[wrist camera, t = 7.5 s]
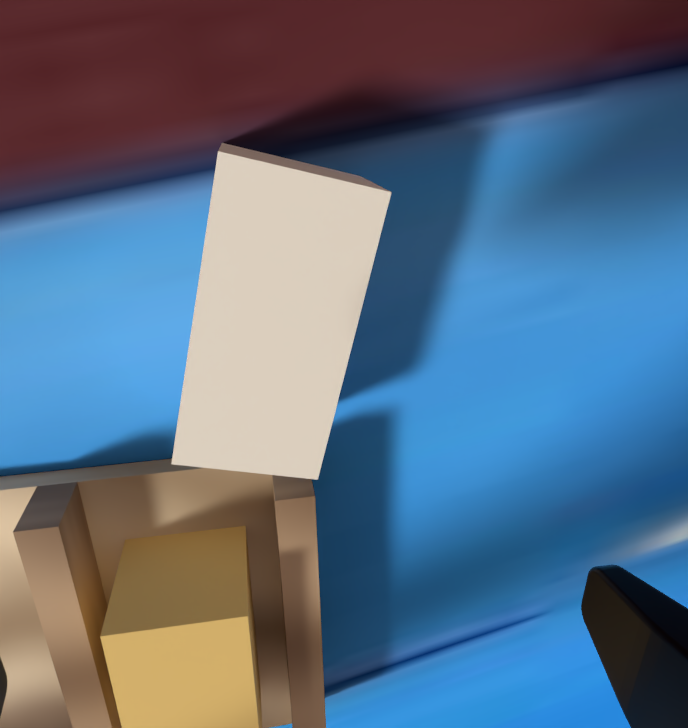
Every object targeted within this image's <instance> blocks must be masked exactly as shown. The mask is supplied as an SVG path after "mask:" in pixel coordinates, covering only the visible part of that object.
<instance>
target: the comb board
mask: <svg viewBox="0 0 688 728" xmlns="http://www.w3.org/2000/svg"><path fill="white" fill-rule="evenodd" d="M171 463H172V459H163V460H154V461H144V462H135V463H125V464H116V465H106V466H97V467H88V468H78V469H69V470H59V471H50V472H40V473H31V474H21V475H12V476H2V477H0V657H1V660H2V663H3V666H4V669H5V671H6V675H7V693H6V697H5V701H4V705H3V709H2V713H1V717H0V728H122V726H121V722H120V718H119V714H118V709H117V705H116V701H115V697H114V693H113V688H112V684H111V680H110V676H109V671H108V667H107V663H106V659H105V655H104V650H103V646H102V642H101V638H100V635H101V631H102V628H103V624H104V620H105V616H106V612H107V608H108V604H109V600H110V597H111V593H112V589H113V585H114V581H115V577H116V573H117V569H118V565H119V562H120V558H121V554H122V550H123V546H124V542H125V540H126V539H134V538H143V537H152V536H160V535H169V534H178V533H187V532H195V531H204V530H213V529H221V528H230V527H239V526H246V535H247V546H248V557H249V568H250V579H251V590H252V601H253V611H254V622H255V633H256V644H257V655H258V666H259V676H260V688H261V711H262V728H269V727H274V726H280V725H286V724H291V723H292V726H293V728H326V719H325V697H324V676H323V654H322V633H321V611H320V590H319V569H318V547H317V526H316V504H315V493H314V488H313V484H312V479H306V478H296V477H287V476H277V475H268V474H259V473H249V472H240V471H230V470H221V469H211V468H202V467H193V466H183V465H174V464H171Z"/></svg>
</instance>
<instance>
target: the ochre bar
mask: <svg viewBox="0 0 688 728" xmlns="http://www.w3.org/2000/svg"><path fill="white" fill-rule="evenodd" d="M100 638H101V642H102V646H103V650H104V655H105V659H106V663H107V667H108V671H109V676H110V680H111V684H112V688H113V693H114V697H115V701H116V705H117V709H118V714H119V718H120V722H121V726H122V728H262V711H261V688H260V676H259V666H258V655H257V644H256V633H255V622H254V611H253V601H252V590H251V579H250V568H249V557H248V546H247V535H246V526H239V527H230V528H221V529H213V530H204V531H195V532H187V533H178V534H169V535H160V536H152V537H143V538H134V539H126V540H125V542H124V546H123V550H122V554H121V558H120V562H119V565H118V569H117V573H116V577H115V581H114V585H113V589H112V593H111V597H110V600H109V604H108V608H107V612H106V616H105V620H104V624H103V628H102V631H101V635H100Z"/></svg>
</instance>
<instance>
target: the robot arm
mask: <svg viewBox="0 0 688 728" xmlns="http://www.w3.org/2000/svg"><path fill="white" fill-rule="evenodd" d="M581 610H582V615H583V619H584V622H585V624H586V626H587V629H588V631H589V633H590V636H591V638H592V640H593V643H594V645H595V647H596V650H597V652H598V654H599V657H600V659H601V662H602V664H603V666H604V669H605V671H606V673H607V676H608V678H609V680H610V683H611V685H612V687H613V690H614V692H615V694H616V697H617V699H618V701H619V704H620V706H621V708H622V710H623V712H624V715H625V717H626V719H627V720H628V722H629V724H630V726H631V728H688V609H687V608H686V607H684V606H683V605H681V604H679V603H678V602H676V601H675V600H673V599H671V598H670V597H668V596H667V595H665V594H663V593H662V592H660V591H659V590H657V589H655V588H654V587H652V586H650V585H649V584H647V583H646V582H644V581H642V580H641V579H639V578H638V577H636V576H634V575H633V574H631V573H630V572H628V571H626V570H625V569H623V568H621V567H620V566H617V565H606V566H597V567H593V568H592V569H591V570H590V571H589V573H588V577H587V582H586V586H585V590H584V595H583V599H582V605H581ZM6 693H7V675H6V671H5V669H4V666H3V663H2V660H1V657H0V717H1V713H2V709H3V705H4V701H5V697H6Z"/></svg>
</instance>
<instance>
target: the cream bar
mask: <svg viewBox="0 0 688 728" xmlns="http://www.w3.org/2000/svg"><path fill="white" fill-rule="evenodd" d="M390 196H391V192H390V191H388V190H386V189H384V188H383V187H381V186H379V185H377V184H375V183H373V182H371V181H369V180H367V179H365V178H363V177H361V176H358V175H354V174H350V173H346V172H341V171H337V170H333V169H329V168H325V167H321V166H316V165H312V164H308V163H304V162H300V161H296V160H291V159H287V158H283V157H279V156H275V155H271V154H266V153H262V152H258V151H254V150H250V149H246V148H241V147H237V146H233V145H229V144H225V143H222V144H221V146H220V148H219V151H218V156H217V162H216V169H215V176H214V182H213V189H212V196H211V202H210V209H209V216H208V222H207V229H206V236H205V243H204V249H203V256H202V263H201V269H200V276H199V283H198V289H197V296H196V303H195V309H194V316H193V323H192V329H191V336H190V343H189V349H188V356H187V363H186V369H185V376H184V383H183V389H182V396H181V403H180V409H179V416H178V423H177V429H176V436H175V443H174V450H173V456H172V463H171V464H174V465H183V466H193V467H202V468H211V469H221V470H230V471H240V472H249V473H259V474H268V475H277V476H287V477H296V478H306V479H315V480H318V477H319V473H320V469H321V465H322V461H323V458H324V454H325V450H326V446H327V442H328V438H329V434H330V430H331V426H332V422H333V419H334V415H335V411H336V407H337V403H338V399H339V395H340V391H341V387H342V383H343V380H344V376H345V372H346V368H347V364H348V360H349V356H350V352H351V348H352V345H353V341H354V337H355V333H356V329H357V325H358V321H359V317H360V313H361V309H362V306H363V302H364V298H365V294H366V290H367V286H368V282H369V278H370V274H371V270H372V267H373V263H374V259H375V255H376V251H377V247H378V243H379V239H380V235H381V231H382V228H383V224H384V220H385V216H386V212H387V208H388V204H389V200H390Z"/></svg>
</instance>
